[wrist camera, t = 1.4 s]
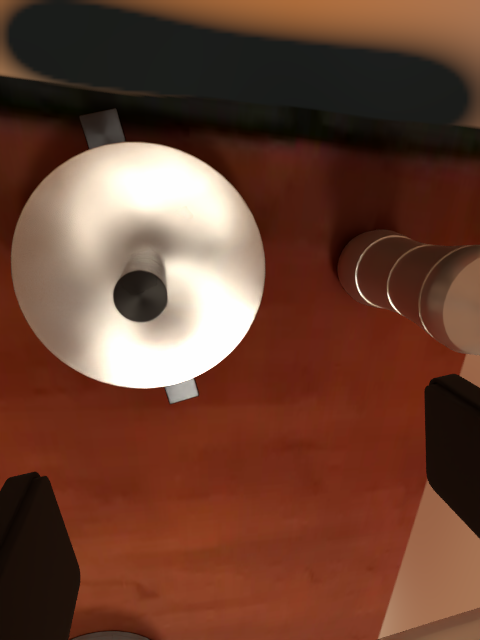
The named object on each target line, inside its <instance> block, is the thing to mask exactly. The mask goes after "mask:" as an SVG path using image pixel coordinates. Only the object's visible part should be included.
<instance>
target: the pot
mask: <svg viewBox="0 0 480 640" xmlns="http://www.w3.org/2000/svg"><path fill="white" fill-rule="evenodd" d="M71 640H150V639H148V638H146V637H143V636H140V635H137V634H133V633H128V632H120V631H105V632H96V633H91V634H86V635H83V636H79V637H76V638H74V639H71Z"/></svg>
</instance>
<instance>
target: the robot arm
mask: <svg viewBox="0 0 480 640" xmlns="http://www.w3.org/2000/svg"><path fill="white" fill-rule="evenodd" d="M425 431H426V473H427V478H428V481H429V484H430V485H431V487H432V488H433V489H434V491H435V492H436V493H437V494H438V495H439V496H440V497H441V498H442V499H443V500H444V501H445V502H446V503H447V504H448V505H449V506H450V508H451V509H452V510H453V511H454V512H455V513H456V514H457V515H458V516H459V517H460V518H461V519H462V520H463V521H464V522H465V523H466V524H467V525H468V527H469V528H470V529H471V530H472V531H473V532H474V533H475V534H476V535H477V536H478V537H479V538H480V388H479V387H477V386H476V385H474V384H472V383H471V382H469V381H467V380H465V379H464V378H462V377H460V376H459V375H456V374H450V375H446V376H442V377H438V378H433V379H432V380H431V381H430V383H429V386H427V387H426V388H425ZM79 586H80V569H79V565H78V562H77V559H76V556H75V553H74V550H73V548H72V545H71V542H70V539H69V536H68V533H67V530H66V527H65V524H64V521H63V518H62V516H61V513H60V510H59V507H58V504H57V501H56V498H55V495H54V492H53V489H52V486H51V483H50V481H49V479H48V477H47V476H43V477H40V475H39V474H38V473H37V472H31V473H27V474H23V475H19V476H14V477H10V478H8V479H7V480H6V482H5V484H4V485H3V487H2V489H1V491H0V640H68V638H69V634H70V629H71V624H72V619H73V615H74V610H75V605H76V600H77V596H78V591H79ZM377 640H480V608H477V609H474V610H471V611H467V612H464V613H461V614H458V615H455V616H451V617H448V618H445V619H442V620H438V621H435V622H432V623H428V624H425V625H422V626H419V627H416V628H412V629H409V630H406V631H403V632H400V633H397V634H394V635H390V636H387V637H384V638H381V639H377Z"/></svg>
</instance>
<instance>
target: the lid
mask: <svg viewBox="0 0 480 640" xmlns="http://www.w3.org/2000/svg"><path fill="white" fill-rule="evenodd" d="M11 275H12V280H13V285H14V291H15V294H16V297H17V300H18V303H19V306H20V308H21V310H22V312H23V315H24V317H25V319H26V321H27V323H28V324H29V326H30V327H31V329H32V330H33V332H34V333H35V335H36V336H37V337H38V338H39V340H40V341H41V342H42V343H43V344H44V345H45V346H46V348H47V349H48V350H49V351H51V352H52V353H53V354H54V355H55V356H56V357H57V358H58V359H59V360H61V361H62V362H64V363H65V364H67V365H68V366H70V367H71V368H72V369H74V370H76V371H78V372H80V373H82V374H84V375H85V376H87V377H90V378H93V379H95V380H98V381H100V382H103V383H107V384H111V385H115V386H121V387H128V388H156V387H164V386H169V385H173V384H178V383H181V382H184V381H186V380H189V379H192V378H194V377H196V376H198V375H200V374H202V373H204V372H206V371H208V370H209V369H211V368H212V367H214V366H215V365H217V364H218V363H219V362H221V361H222V360H223V359H224V358H225V357H226V356H228V355H229V354H230V353H231V352H232V351H233V349H234V348H235V347H236V346H237V345H238V344H239V343H240V341H241V340H242V339H243V337H244V336H245V334H246V333H247V332H248V330H249V328H250V326H251V324H252V322H253V321H254V319H255V316H256V314H257V311H258V309H259V306H260V303H261V299H262V295H263V290H264V282H265V255H264V248H263V243H262V239H261V236H260V232H259V229H258V226H257V224H256V221H255V219H254V217H253V214H252V213H251V211H250V209H249V207H248V206H247V204H246V202H245V201H244V199H243V198H242V196H241V195H240V194H239V193H238V191H237V190H236V189H235V187H234V186H233V185H232V184H231V183H230V182H229V181H228V180H227V179H226V178H225V177H224V176H223V175H222V174H220V173H219V172H218V171H217V170H215V169H214V168H213V167H211V166H210V165H209V164H207V163H205V162H204V161H202V160H200V159H199V158H197V157H195V156H193V155H191V154H189V153H186V152H184V151H182V150H179V149H177V148H173V147H169V146H166V145H162V144H157V143H149V142H118V143H112V144H105V145H102V146H99V147H95V148H92V149H89V150H86V151H84V152H82V153H80V154H78V155H76V156H73V157H71V158H70V159H68V160H67V161H65V162H64V163H62V164H61V165H59V166H58V167H56V168H55V169H54V170H53V171H52V172H51V173H50V174H49V175H47V176H46V177H45V178H44V179H43V180H42V182H41V183H40V184H39V185H38V186H37V188H36V189H35V190H34V191H33V192H32V194H31V196H30V197H29V199H28V201H27V202H26V204H25V205H24V207H23V210H22V212H21V214H20V217H19V219H18V221H17V224H16V228H15V232H14V236H13V240H12V250H11Z"/></svg>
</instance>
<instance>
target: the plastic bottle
mask: <svg viewBox="0 0 480 640" xmlns="http://www.w3.org/2000/svg"><path fill="white" fill-rule="evenodd" d="M337 272H338V278H339V281H340V284H341V285H342V287H343V288H344V290H345V291H346V292H347V293H348V294H349V295H350V296H351V297H352V298H353V299H354V300H356V301H357V302H359V303H362V304H364V305H368V306H372V307H378V308H385V309H388V310H391V311H394V312H397V313H399V314H401V315H403V316H405V317H406V318H408V319H409V320H411V321H413V322H414V323H416V324H417V325H418V326H419V327H421V328H422V329H423V330H424V331H426V332H427V333H428V334H429V335H431V336H432V337H433V338H434V339H435V340H437V341H438V342H440V343H442V344H443V345H445V346H446V347H448V348H449V349H451V350H453V351H456V352H459V353H465V354H474V355H480V245H466V246H440V245H428V244H424V243H420V242H417V241H414V240H411V239H410V238H408V237H406V236H404V235H402V234H399V233H397V232H394V231H391V230H386V229H384V230H374V231H369V232H365V233H362V234H360V235H357V236H356V237H355V238H353V239H352V240H351V241H350V242H349V243H348V244H347V245H346V246H345V247H344V249H343V250H342V252H341V255H340V257H339V261H338V267H337Z"/></svg>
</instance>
